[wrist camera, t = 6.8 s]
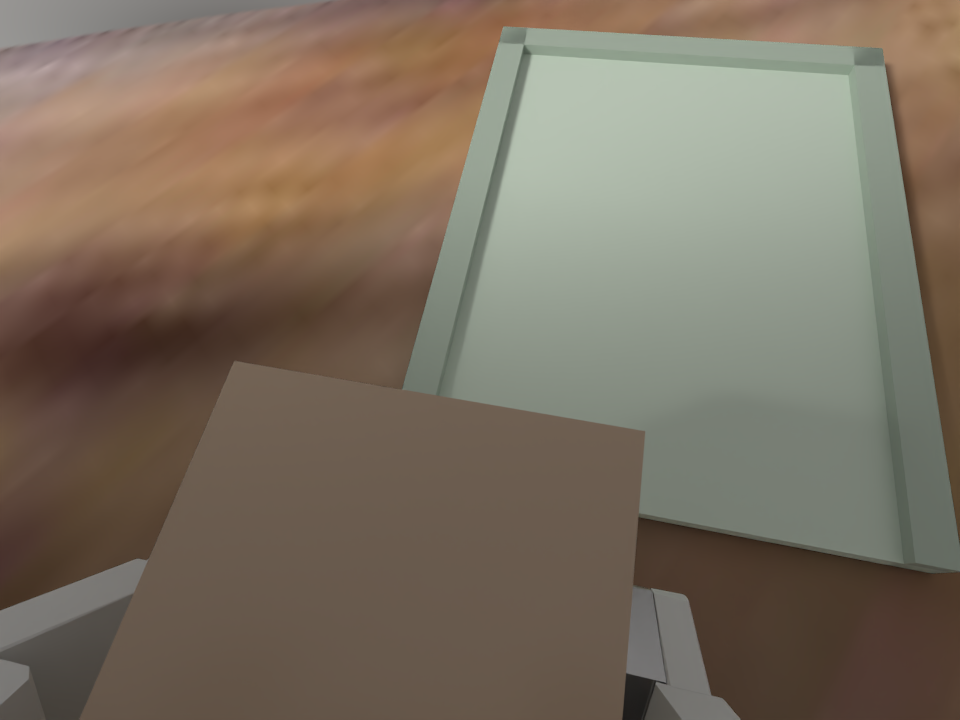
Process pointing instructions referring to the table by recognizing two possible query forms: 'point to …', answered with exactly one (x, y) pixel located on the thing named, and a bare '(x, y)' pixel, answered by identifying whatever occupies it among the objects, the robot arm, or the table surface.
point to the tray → (703, 283)
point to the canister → (383, 563)
